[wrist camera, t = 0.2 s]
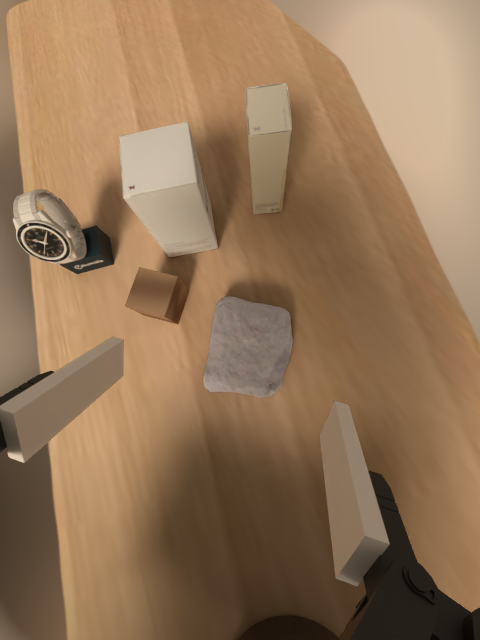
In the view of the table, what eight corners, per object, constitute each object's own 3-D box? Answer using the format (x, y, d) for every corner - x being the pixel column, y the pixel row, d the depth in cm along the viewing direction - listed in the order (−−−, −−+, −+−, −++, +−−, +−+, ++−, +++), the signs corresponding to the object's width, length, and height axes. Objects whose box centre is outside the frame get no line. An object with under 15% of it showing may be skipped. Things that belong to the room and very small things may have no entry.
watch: (78, 286, 35) (0, 249, 25) (72, 237, 37) (-3, 182, 26) (116, 276, 35) (53, 235, 25) (108, 227, 37) (47, 168, 26)
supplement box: (219, 249, 35) (198, 183, 23) (168, 258, 35) (119, 198, 23) (212, 204, 36) (189, 118, 24) (163, 213, 37) (115, 133, 24)
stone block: (287, 310, 34) (215, 299, 34) (299, 303, 30) (216, 289, 29) (277, 398, 33) (201, 389, 32) (289, 406, 28) (200, 395, 27)
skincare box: (282, 212, 35) (294, 133, 23) (251, 215, 36) (247, 137, 24) (279, 174, 37) (289, 80, 25) (249, 177, 37) (244, 85, 25)
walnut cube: (178, 324, 33) (164, 316, 28) (144, 315, 34) (124, 306, 29) (189, 289, 34) (177, 276, 29) (156, 281, 35) (139, 267, 30)
